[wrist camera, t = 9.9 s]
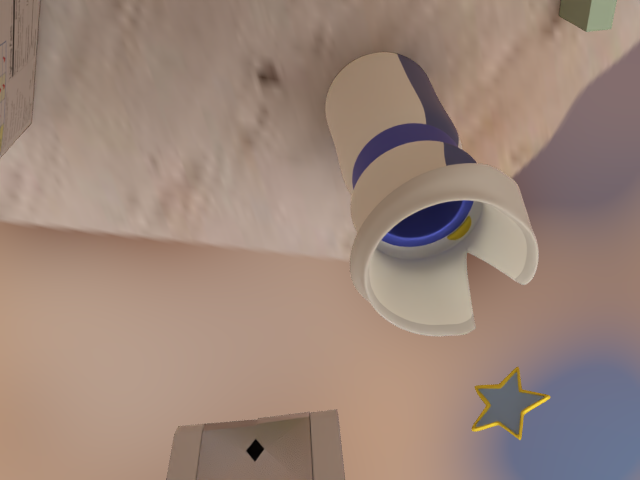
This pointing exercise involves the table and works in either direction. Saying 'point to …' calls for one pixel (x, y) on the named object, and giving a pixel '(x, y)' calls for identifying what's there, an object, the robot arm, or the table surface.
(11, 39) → the light bulb box
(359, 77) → the water bottle
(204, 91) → the table surface
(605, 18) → the green board
